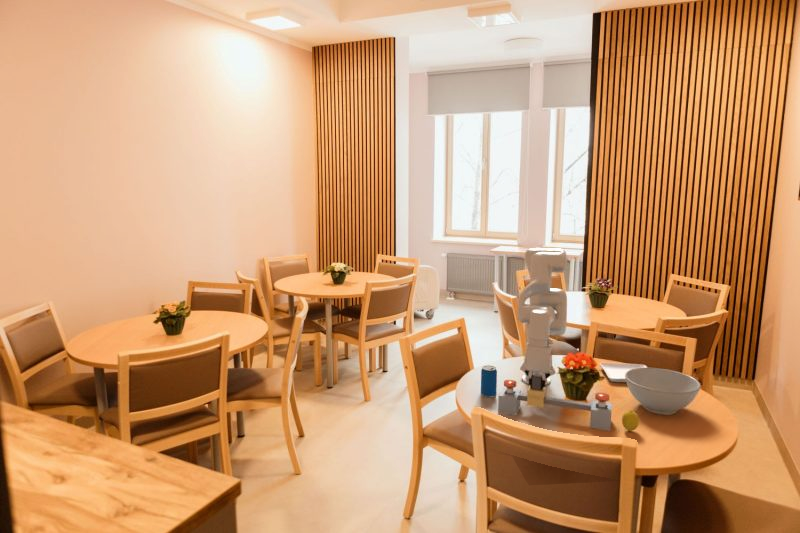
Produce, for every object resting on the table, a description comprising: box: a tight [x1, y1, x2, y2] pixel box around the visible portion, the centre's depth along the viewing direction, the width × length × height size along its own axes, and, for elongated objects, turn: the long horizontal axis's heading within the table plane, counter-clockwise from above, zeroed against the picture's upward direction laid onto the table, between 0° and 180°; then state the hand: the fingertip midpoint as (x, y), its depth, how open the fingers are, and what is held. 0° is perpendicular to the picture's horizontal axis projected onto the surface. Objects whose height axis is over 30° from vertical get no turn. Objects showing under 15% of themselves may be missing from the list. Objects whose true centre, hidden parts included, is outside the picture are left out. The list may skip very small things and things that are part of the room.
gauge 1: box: [503, 379, 517, 395], centre depth 214 cm, size 5×5×7 cm
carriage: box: [526, 374, 547, 408], centre depth 210 cm, size 6×6×11 cm
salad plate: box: [598, 362, 648, 383], centre depth 250 cm, size 21×21×3 cm
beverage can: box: [480, 365, 498, 398], centre depth 228 cm, size 6×6×12 cm
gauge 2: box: [594, 392, 610, 409], centre depth 201 cm, size 5×5×7 cm
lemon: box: [621, 409, 640, 432], centre depth 196 cm, size 6×6×8 cm
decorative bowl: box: [625, 367, 701, 416], centre depth 215 cm, size 27×27×12 cm
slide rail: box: [497, 386, 613, 432], centre depth 208 cm, size 9×41×7 cm, turn 67°
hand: (536, 387), depth 210 cm, fingers closed on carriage, 3 cm apart
